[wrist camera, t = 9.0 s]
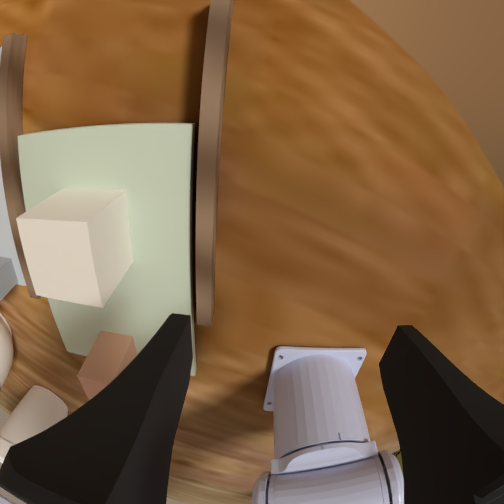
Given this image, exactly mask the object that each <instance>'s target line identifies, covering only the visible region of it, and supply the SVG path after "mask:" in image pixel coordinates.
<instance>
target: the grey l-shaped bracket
mask: <svg viewBox="0 0 504 504" xmlns="http://www.w3.org/2000/svg"><path fill="white" fill-rule="evenodd" d="M16 284H18V285H22V286H26V283H25V279H24V276H23V273H22V269H21V266H20V263H19V259H18V255H17V251H16V247H15V243H14V239H13V235H12V231H11V226H10V221H9V216H8V211H7V205H6V200H5V193H4V186H3V179H2V171H1V161H0V301H1V300H2V299H3V298H4V297H5V296H6V294H7V293H8V292H9V291H10V290H11V289H12V288H13V287H14V286H15V285H16Z"/></svg>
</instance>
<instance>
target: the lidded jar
mask: <svg viewBox="0 0 504 504" xmlns="http://www.w3.org/2000/svg"><path fill="white" fill-rule="evenodd" d="M13 354H14V350H13V342H12V331H11V328H10V326H9V324H8V322H7V321H6V319H5V318H4V316H3V315H2V314H1V313H0V391H1V388H2V386H3V384H4V383H5V381H6V379H7V377H8V375H9V372H10V370H11V366H12V362H13Z"/></svg>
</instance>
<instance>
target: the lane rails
mask: <svg viewBox="0 0 504 504" xmlns="http://www.w3.org/2000/svg"><path fill="white" fill-rule="evenodd" d="M233 3H234V0H211V1H210V9H209V17H208V25H207V35H206V44H205V54H204V65H203V77H202V89H201V103H200V119H199V136H198V158H197V186H196V312H197V325H203V326H211V324H212V318H213V313H214V286H215V251H216V224H217V202H218V182H219V165H220V148H221V133H222V119H223V106H224V94H225V82H226V71H227V60H228V49H229V39H230V30H231V21H232V12H233ZM26 42H27V35H24V34H15V33H12V34H9V35H7V36H5V37H3V43H2V47H0V161H1V171H2V179H3V186H4V193H5V200H6V205H7V211H8V216H9V221H10V226H11V231H12V235H13V239H14V243H15V247H16V251H17V255H18V259H19V263H20V266H21V269H22V273H23V276H24V279H25V283H26V286H27V289H28V292H29V295H30V297H32V298H37V299H39V297H40V296H38V295H36V293H35V290H34V287H33V283H32V280H31V277H30V274H29V270H28V267H27V263H26V259H25V255H24V252H23V247H22V243H21V239H20V235H19V230H18V225H17V220H16V218H17V217H19V216H20V215H22V214H23V213H25V212H26V209H25V203H24V196H23V189H22V181H21V173H20V163H19V151H18V136H20V135H23V132H22V90H23V72H24V60H25V50H26Z"/></svg>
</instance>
